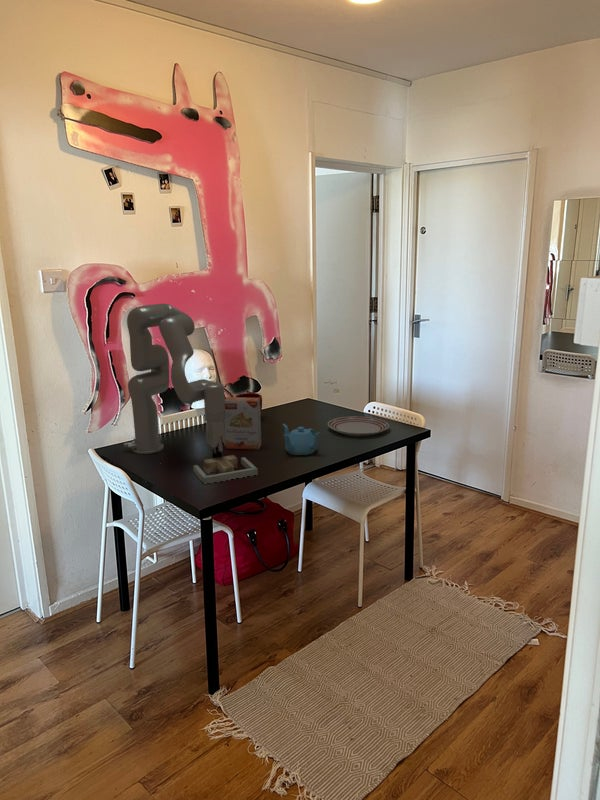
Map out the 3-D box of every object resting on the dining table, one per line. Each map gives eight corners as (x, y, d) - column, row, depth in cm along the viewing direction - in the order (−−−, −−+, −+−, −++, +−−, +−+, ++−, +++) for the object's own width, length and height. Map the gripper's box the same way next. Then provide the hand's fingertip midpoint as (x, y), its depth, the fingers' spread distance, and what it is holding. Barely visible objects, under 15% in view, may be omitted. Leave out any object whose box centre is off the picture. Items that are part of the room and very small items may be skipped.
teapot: (318, 445, 251) (317, 421, 249) (321, 457, 237) (321, 432, 234) (282, 446, 250) (282, 422, 248) (283, 458, 236) (283, 433, 233)
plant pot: (236, 416, 295) (235, 392, 292) (263, 416, 295) (262, 392, 292) (233, 424, 283) (232, 399, 280) (261, 423, 282) (261, 399, 279)
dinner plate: (359, 418, 289) (359, 411, 289) (402, 431, 268) (402, 424, 267) (315, 429, 273) (315, 422, 272) (356, 444, 252) (356, 436, 251)
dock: (204, 484, 211) (203, 478, 211) (193, 472, 223) (193, 465, 223) (257, 475, 219) (257, 468, 219) (244, 463, 231) (244, 457, 231)
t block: (213, 480, 215) (212, 470, 214) (203, 470, 225) (203, 459, 224) (245, 475, 220) (244, 464, 219) (234, 464, 230) (233, 454, 229)
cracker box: (225, 449, 248) (222, 400, 243) (229, 444, 254) (226, 396, 248) (258, 450, 246) (257, 400, 241) (261, 445, 252) (260, 397, 246)
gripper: (199, 412, 230) (202, 457, 234) (211, 422, 217) (214, 470, 221) (218, 409, 233) (221, 454, 237) (231, 419, 220) (233, 466, 224)
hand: (217, 462), depth 229 cm, fingers closed
